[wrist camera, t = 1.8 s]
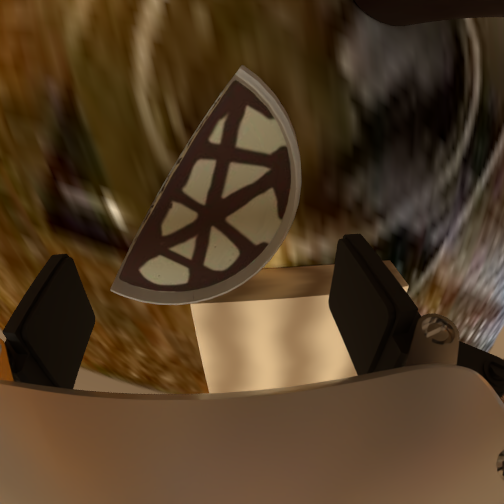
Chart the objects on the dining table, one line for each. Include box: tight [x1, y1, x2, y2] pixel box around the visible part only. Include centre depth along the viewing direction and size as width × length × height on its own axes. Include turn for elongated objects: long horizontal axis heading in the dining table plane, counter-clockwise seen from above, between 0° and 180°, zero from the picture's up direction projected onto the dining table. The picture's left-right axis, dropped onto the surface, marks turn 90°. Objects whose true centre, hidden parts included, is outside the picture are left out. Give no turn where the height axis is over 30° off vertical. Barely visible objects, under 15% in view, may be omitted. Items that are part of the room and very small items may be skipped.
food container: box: [110, 65, 301, 305], centre depth 17 cm, size 12×6×10 cm, turn 145°
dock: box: [191, 260, 409, 393], centre depth 29 cm, size 18×18×4 cm
